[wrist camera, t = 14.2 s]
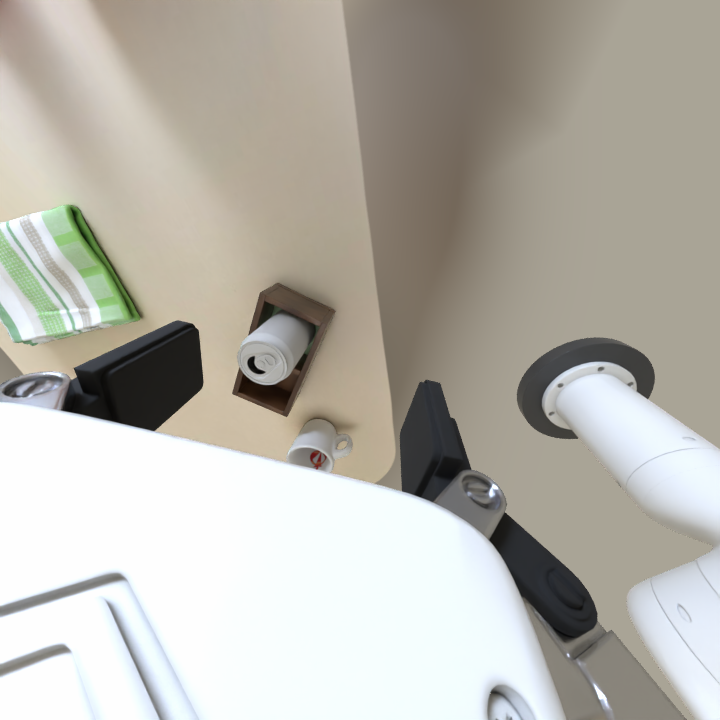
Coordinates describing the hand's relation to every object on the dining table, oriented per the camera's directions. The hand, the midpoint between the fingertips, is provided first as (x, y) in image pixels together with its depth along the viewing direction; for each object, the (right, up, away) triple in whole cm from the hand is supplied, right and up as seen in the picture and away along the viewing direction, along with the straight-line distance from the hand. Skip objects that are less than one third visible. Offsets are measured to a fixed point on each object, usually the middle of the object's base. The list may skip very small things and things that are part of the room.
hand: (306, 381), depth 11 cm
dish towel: (-45, +13, +31) cm, 56 cm away
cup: (-4, -12, +39) cm, 41 cm away
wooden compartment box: (-9, +3, +32) cm, 33 cm away
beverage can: (-7, +6, +29) cm, 30 cm away
